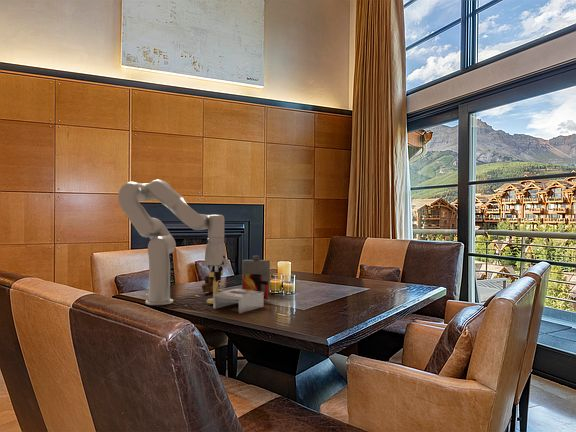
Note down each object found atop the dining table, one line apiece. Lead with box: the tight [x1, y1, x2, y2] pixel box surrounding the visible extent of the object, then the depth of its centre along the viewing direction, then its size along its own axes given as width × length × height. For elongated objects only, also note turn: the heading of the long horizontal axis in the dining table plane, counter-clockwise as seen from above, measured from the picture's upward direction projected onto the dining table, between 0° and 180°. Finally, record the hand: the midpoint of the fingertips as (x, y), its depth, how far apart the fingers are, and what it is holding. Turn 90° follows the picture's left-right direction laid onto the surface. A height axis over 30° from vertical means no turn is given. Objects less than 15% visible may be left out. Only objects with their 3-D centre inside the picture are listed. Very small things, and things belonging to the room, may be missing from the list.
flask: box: [241, 255, 271, 295], centre depth 226 cm, size 15×6×20 cm, turn 88°
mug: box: [241, 274, 269, 301], centre depth 207 cm, size 10×14×12 cm
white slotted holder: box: [212, 288, 265, 314], centre depth 189 cm, size 16×16×7 cm
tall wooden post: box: [206, 270, 224, 304], centre depth 196 cm, size 3×8×14 cm, turn 146°
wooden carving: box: [201, 273, 222, 294], centre depth 227 cm, size 16×5×10 cm, turn 164°
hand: (215, 279), depth 196 cm, fingers closed on tall wooden post, 2 cm apart
